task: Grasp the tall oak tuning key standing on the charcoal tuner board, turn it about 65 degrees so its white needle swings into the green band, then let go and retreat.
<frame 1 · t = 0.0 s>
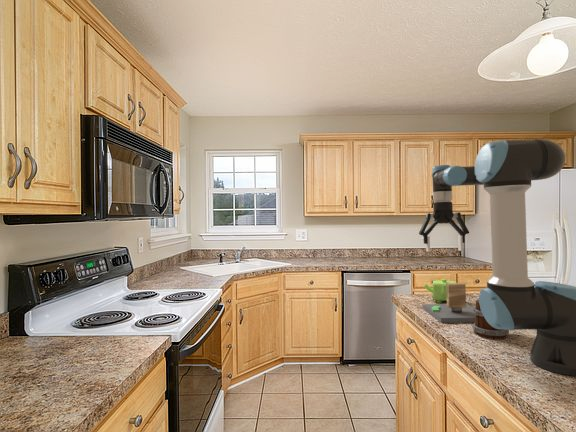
hand: (444, 251, 150), 28 cm above the worktop, fingers open, 13 cm apart
can: (515, 322, 139), on the worktop
kettle: (445, 302, 174), on the worktop
tuner board: (454, 314, 151), on the worktop
mug: (494, 334, 127), on the worktop
peg key: (452, 295, 153), point 8 cm above the worktop, hinge at 0.0°
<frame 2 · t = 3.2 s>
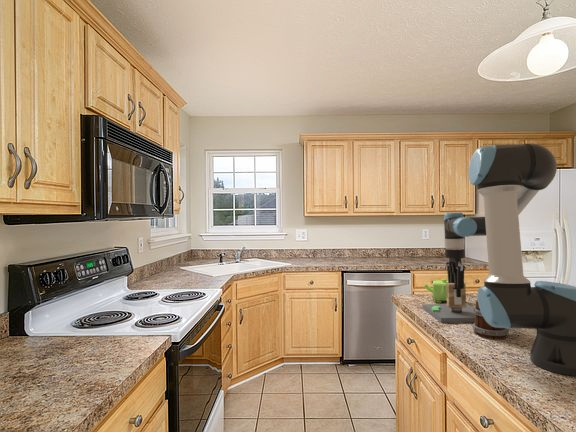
hand: (456, 303, 149), 6 cm above the worktop, fingers closed on peg key, 2 cm apart
peg key: (452, 295, 153), point 8 cm above the worktop, hinge at 0.0°, touching gripper
everything else where it was.
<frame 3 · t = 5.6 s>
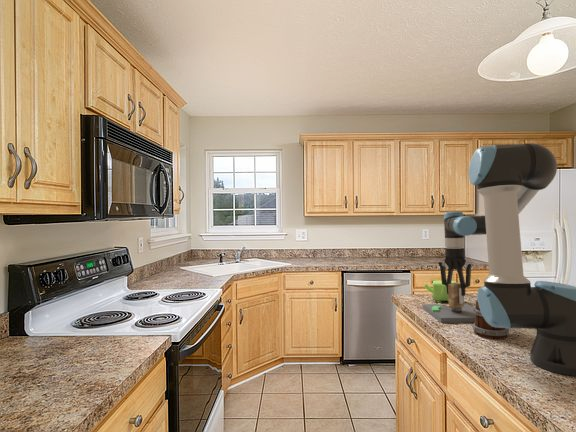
hand: (456, 302, 149), 6 cm above the worktop, fingers closed on peg key, 3 cm apart
peg key: (448, 295, 152), point 8 cm above the worktop, hinge at 33.5°, touching gripper
everything else where it was.
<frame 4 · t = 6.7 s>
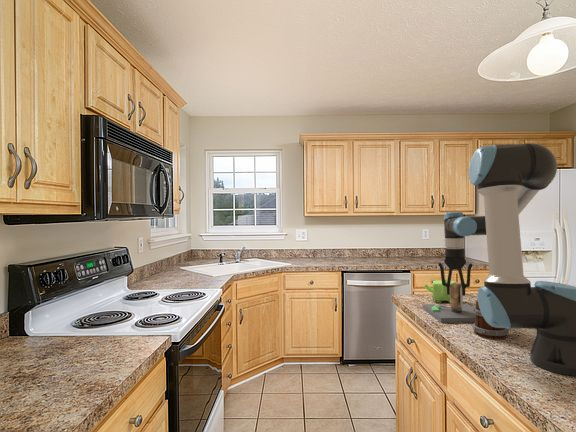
hand: (456, 302, 149), 6 cm above the worktop, fingers closed on peg key, 3 cm apart
peg key: (447, 296, 151), point 8 cm above the worktop, hinge at 49.7°, touching gripper
everything else where it was.
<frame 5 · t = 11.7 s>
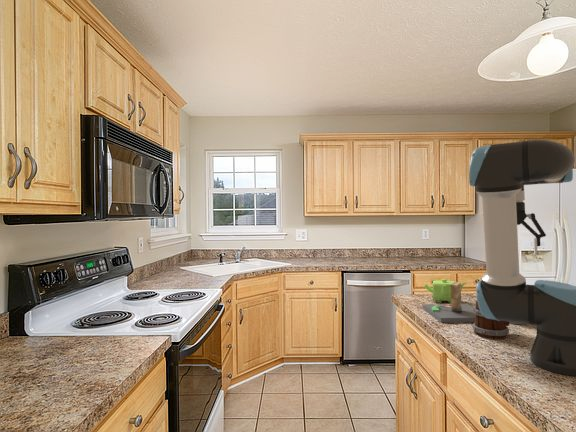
hand: (515, 254, 141), 27 cm above the worktop, fingers open, 13 cm apart
peg key: (447, 296, 151), point 8 cm above the worktop, hinge at 54.3°
everything else where it was.
at the end: peg key at +54° (first picture: +0°); the gripper is holding nothing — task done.
